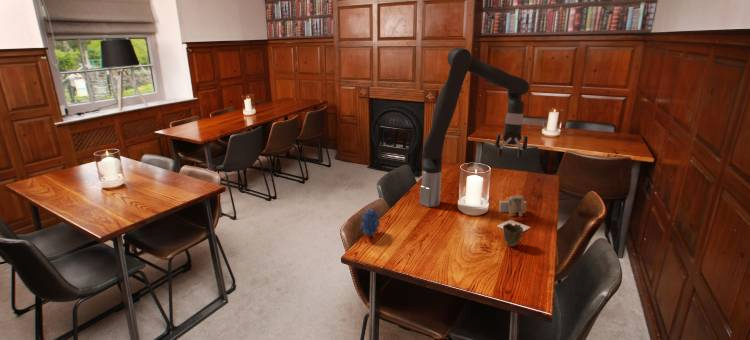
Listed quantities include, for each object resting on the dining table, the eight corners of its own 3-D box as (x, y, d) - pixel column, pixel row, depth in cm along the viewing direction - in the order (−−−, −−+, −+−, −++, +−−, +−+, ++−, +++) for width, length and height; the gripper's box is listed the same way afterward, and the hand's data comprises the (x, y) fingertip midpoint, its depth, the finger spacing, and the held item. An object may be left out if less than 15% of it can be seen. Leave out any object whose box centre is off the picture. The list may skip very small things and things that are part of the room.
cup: (522, 243, 159) (524, 224, 157) (520, 251, 153) (522, 232, 151) (502, 239, 162) (504, 221, 160) (500, 247, 156) (501, 229, 154)
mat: (517, 234, 166) (517, 233, 166) (496, 226, 174) (496, 225, 174) (530, 227, 172) (530, 227, 172) (510, 220, 180) (510, 219, 180)
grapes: (371, 244, 159) (370, 216, 156) (357, 239, 163) (356, 212, 159) (386, 233, 168) (387, 206, 165) (373, 229, 172) (373, 203, 168)
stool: (524, 220, 180) (527, 200, 177) (512, 220, 180) (514, 200, 177) (518, 211, 189) (520, 192, 186) (506, 211, 189) (508, 192, 186)
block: (525, 212, 188) (526, 202, 187) (499, 212, 188) (500, 202, 187) (524, 210, 190) (525, 201, 188) (499, 210, 190) (499, 201, 188)
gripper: (500, 122, 183) (496, 157, 187) (531, 124, 183) (527, 159, 186) (496, 121, 191) (492, 154, 194) (526, 123, 190) (522, 156, 194)
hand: (509, 156), depth 190 cm, fingers open, 8 cm apart
